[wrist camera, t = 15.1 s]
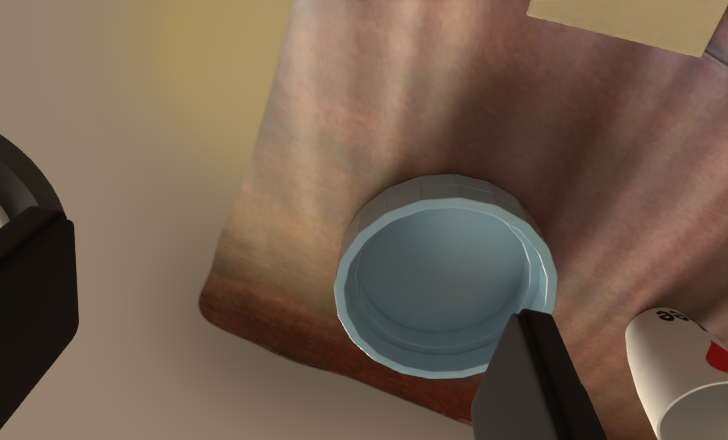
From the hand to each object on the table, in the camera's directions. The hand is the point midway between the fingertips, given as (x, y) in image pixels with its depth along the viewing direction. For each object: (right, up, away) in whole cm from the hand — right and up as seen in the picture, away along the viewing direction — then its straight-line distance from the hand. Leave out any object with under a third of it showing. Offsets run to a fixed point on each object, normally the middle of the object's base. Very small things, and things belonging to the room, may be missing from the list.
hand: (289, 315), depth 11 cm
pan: (+8, -2, +33) cm, 34 cm away
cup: (+27, -7, +35) cm, 45 cm away
